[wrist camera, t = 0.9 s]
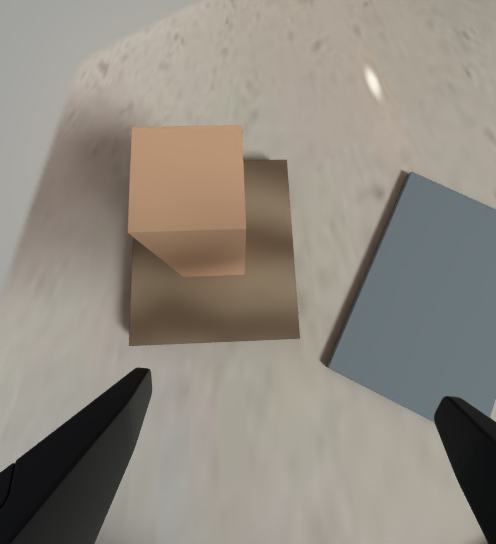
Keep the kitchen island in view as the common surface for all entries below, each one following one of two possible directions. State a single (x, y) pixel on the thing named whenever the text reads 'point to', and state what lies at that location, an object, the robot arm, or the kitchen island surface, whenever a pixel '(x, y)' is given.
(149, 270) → the plate
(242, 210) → the terracotta block
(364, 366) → the slate grey mat
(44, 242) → the kitchen island surface
